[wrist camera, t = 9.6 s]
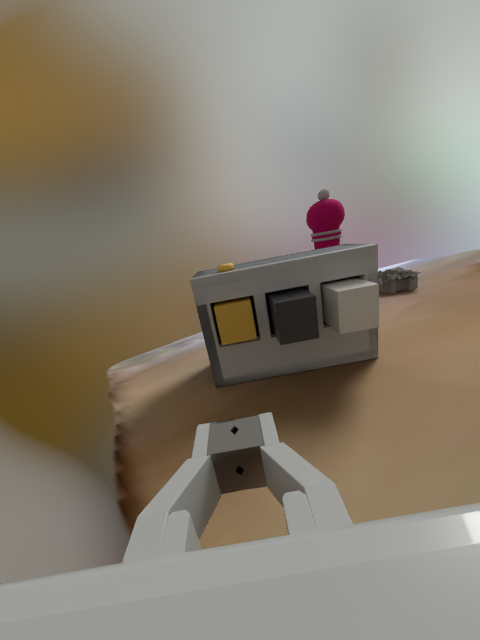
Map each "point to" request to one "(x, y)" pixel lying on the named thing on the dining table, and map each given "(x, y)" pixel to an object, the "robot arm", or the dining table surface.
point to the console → (257, 283)
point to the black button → (294, 315)
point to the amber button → (235, 320)
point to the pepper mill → (325, 221)
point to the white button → (350, 305)
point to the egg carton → (397, 280)
